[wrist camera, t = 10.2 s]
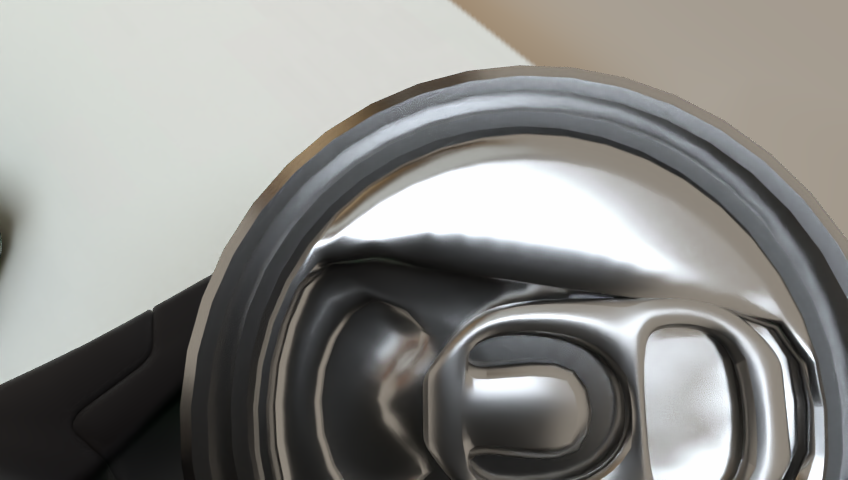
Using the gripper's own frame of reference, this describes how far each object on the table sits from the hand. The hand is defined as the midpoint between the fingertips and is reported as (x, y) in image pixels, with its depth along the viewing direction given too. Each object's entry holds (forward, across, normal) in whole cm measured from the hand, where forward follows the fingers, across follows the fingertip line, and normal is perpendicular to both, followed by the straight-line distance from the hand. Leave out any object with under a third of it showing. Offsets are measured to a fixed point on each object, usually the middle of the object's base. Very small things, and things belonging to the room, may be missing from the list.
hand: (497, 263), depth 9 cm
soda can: (+4, 0, +6) cm, 7 cm away
